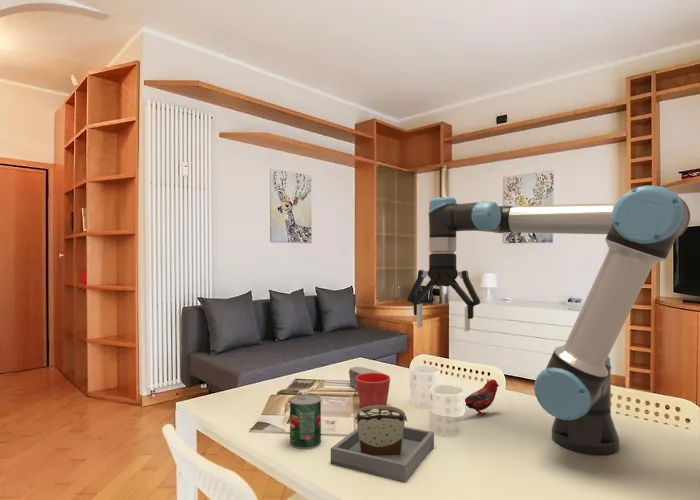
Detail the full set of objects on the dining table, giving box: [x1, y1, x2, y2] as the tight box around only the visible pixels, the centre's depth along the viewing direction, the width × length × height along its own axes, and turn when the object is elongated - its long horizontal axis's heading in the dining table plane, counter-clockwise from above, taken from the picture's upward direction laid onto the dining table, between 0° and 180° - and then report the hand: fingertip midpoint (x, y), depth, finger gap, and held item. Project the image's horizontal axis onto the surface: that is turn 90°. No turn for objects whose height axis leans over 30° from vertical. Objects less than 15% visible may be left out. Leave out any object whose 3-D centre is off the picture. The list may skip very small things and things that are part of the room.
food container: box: [353, 405, 408, 457], centre depth 107 cm, size 12×6×10 cm, turn 92°
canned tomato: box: [289, 393, 322, 450], centre depth 114 cm, size 8×8×11 cm
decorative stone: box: [348, 366, 384, 390], centre depth 159 cm, size 15×7×10 cm
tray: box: [330, 425, 435, 483], centre depth 107 cm, size 18×20×4 cm
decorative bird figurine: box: [464, 379, 500, 416], centre depth 132 cm, size 3×18×10 cm, turn 115°
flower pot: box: [356, 372, 391, 409], centre depth 139 cm, size 11×11×10 cm
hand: (442, 328), depth 126 cm, fingers open, 13 cm apart
